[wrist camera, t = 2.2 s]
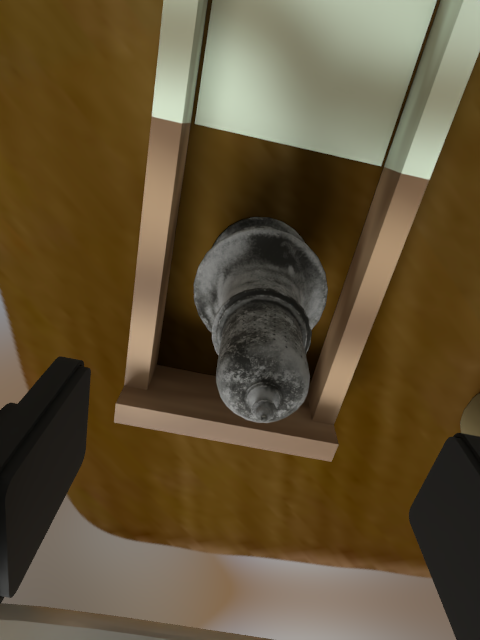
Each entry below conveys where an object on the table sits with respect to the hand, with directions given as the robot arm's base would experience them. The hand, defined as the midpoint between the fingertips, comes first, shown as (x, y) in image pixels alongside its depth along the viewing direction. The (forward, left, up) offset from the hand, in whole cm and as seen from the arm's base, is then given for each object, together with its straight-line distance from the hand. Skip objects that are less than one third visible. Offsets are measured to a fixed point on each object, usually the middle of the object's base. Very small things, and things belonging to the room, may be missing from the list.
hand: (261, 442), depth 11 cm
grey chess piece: (-1, 0, -12) cm, 12 cm away
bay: (-4, 0, -12) cm, 13 cm away
